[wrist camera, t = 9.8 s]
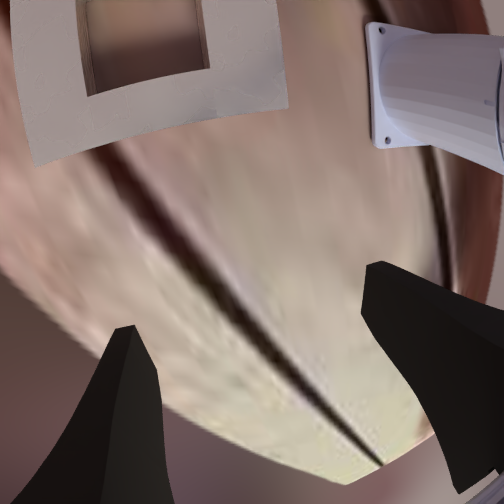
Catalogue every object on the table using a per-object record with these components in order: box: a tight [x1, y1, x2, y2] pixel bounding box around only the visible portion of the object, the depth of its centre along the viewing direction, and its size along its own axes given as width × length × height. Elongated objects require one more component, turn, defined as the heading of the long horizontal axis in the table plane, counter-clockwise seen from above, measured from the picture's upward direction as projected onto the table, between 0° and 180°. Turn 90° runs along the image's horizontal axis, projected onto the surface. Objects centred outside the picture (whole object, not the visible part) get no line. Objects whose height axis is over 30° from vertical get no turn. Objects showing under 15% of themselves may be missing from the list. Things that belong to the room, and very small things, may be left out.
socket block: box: [10, 0, 289, 168], centre depth 11 cm, size 12×10×2 cm
